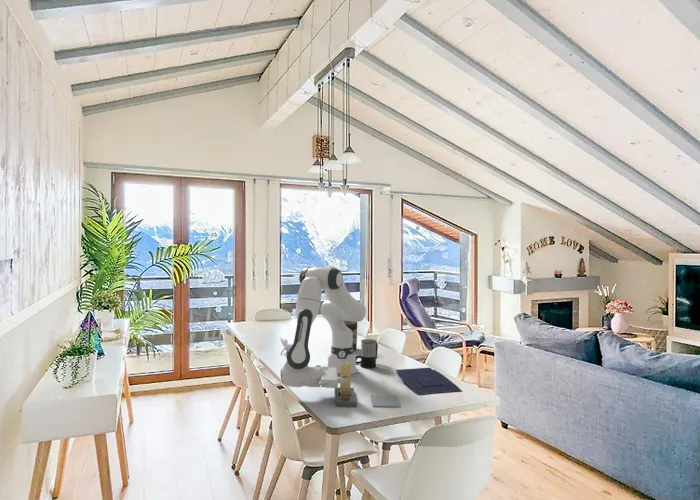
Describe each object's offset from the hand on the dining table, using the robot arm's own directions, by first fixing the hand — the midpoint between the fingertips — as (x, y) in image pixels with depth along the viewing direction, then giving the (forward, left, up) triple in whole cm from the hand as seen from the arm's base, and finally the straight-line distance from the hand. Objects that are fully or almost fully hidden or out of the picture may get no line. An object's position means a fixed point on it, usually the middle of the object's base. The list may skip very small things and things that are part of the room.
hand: (347, 377), depth 210 cm
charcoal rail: (0, -1, -10) cm, 10 cm away
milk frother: (-58, +10, -10) cm, 60 cm away
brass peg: (0, -1, -10) cm, 10 cm away
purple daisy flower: (-80, -37, -10) cm, 88 cm away
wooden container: (-96, -1, -10) cm, 96 cm away
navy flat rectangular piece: (-24, +40, -10) cm, 48 cm away
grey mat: (+3, +17, -10) cm, 20 cm away
